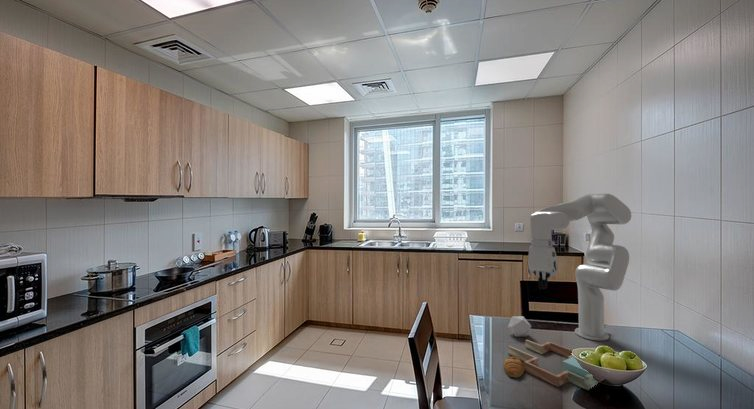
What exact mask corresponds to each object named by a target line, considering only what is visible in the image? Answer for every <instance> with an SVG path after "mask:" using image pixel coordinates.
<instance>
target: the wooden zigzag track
mask: <svg viewBox="0 0 754 409" xmlns="http://www.w3.org/2000/svg"><path fill="white" fill-rule="evenodd" d="M524 344H525V345H524V346H525V348H526V349H529V350H530V351H533V352H536V353H538V354H541V355H543V354H545V353H548V352H550V351H551V352H553V353H556V354H559V355H561V356H564V357H565V358H567V359H569V358H571V357H573V356H572V354H571V353H572V351H573V349H570V348H568V347H565V346H563V345H560V344H557V343H555V342H552V341H547V342H545V343H542V344H539V343H537V342H534V341H531V340H529V339H525V343H524ZM507 354H508V355H509V356H511V357H516V358H518V359H520V361H523V364H524V372H527V373H529V374H531V375H532V376H535V377H537V378H539V379H541V380H543V381H544V382H548V383H549V384H551V385H553V386H556V387H557V388H558V387H560V386H562V385H564V384H567V383H571V384H574V385H576V386H577V387H579V388H582V389H584V390H586V391H589V390H591V389H592V387H593V388H595V387H596V386H597V384H598V382H597V381H596V380H595V379H594V378H593V375H592V374H590V373H589V374H587V375H586V376H584V377H581V376H579V375H577V374H574V373H572V372H570V371H567V370H566V371H564V372H563V371H562V372H560V373H558V374H555V373H553V372H551V371H549V370H546V369H544V368H542V367H539V357H538V356H534V355H533V354H530V353H528V352H525V351H523V350H521V349H518V348H517V347H513V346H511V345H507ZM595 385H596V386H595ZM598 385H599V384H598ZM594 386H595V387H594ZM590 388H591V389H590Z"/></svg>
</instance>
